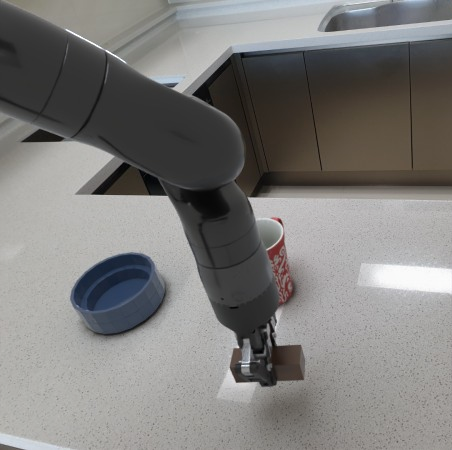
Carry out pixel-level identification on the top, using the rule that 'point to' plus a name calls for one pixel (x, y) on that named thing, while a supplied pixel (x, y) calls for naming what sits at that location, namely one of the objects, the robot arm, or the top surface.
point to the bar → (278, 363)
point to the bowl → (118, 293)
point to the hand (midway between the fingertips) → (270, 371)
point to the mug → (276, 254)
